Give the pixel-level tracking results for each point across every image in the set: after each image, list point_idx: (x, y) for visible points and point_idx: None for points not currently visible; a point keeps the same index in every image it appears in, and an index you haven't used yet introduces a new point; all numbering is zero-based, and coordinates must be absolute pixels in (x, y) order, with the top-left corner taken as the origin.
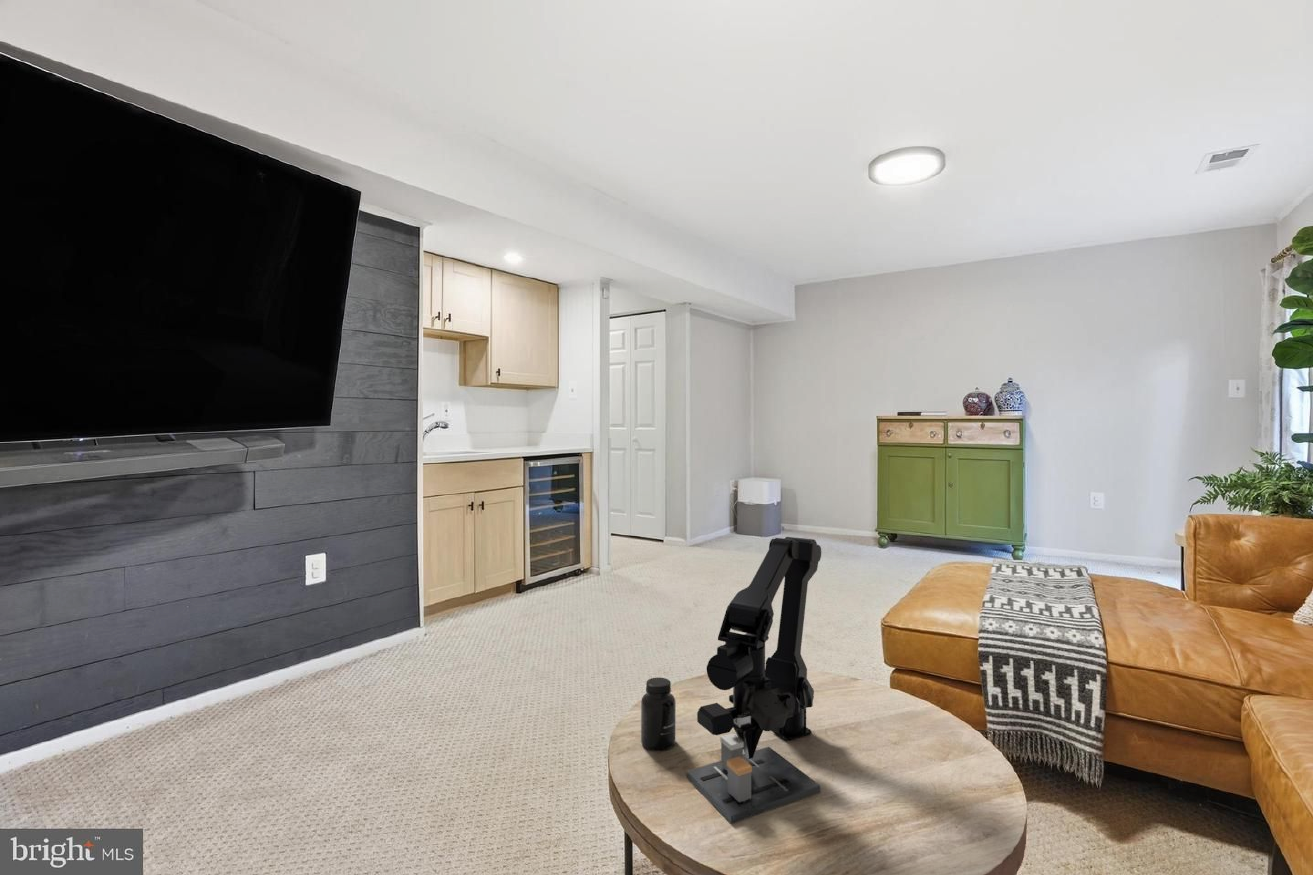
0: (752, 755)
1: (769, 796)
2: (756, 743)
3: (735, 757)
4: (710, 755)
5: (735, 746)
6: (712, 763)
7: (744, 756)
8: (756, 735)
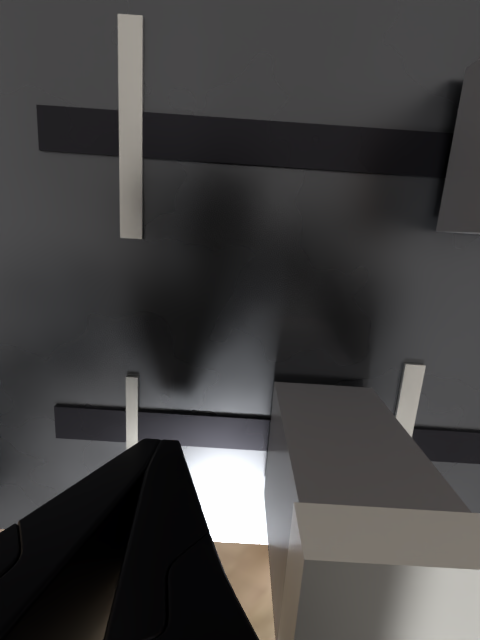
0: (147, 445)
1: (304, 35)
2: (71, 502)
3: (378, 450)
4: (270, 620)
5: (440, 537)
6: None
7: None
8: (20, 589)
